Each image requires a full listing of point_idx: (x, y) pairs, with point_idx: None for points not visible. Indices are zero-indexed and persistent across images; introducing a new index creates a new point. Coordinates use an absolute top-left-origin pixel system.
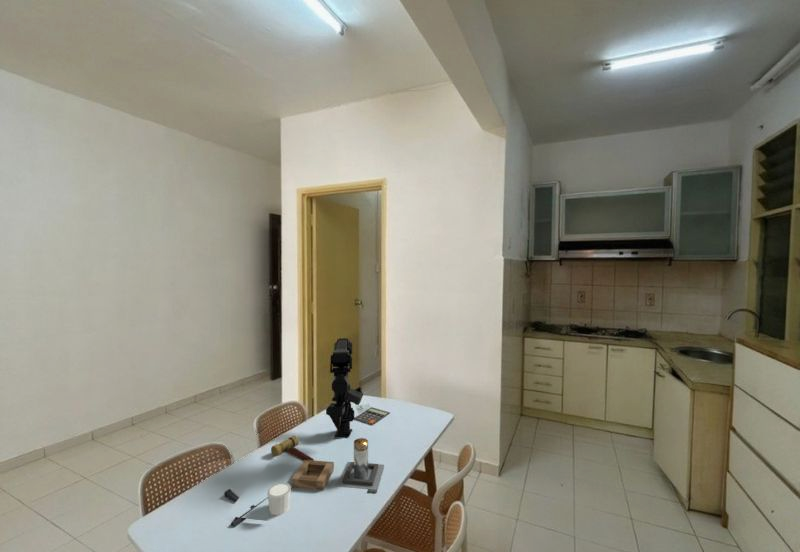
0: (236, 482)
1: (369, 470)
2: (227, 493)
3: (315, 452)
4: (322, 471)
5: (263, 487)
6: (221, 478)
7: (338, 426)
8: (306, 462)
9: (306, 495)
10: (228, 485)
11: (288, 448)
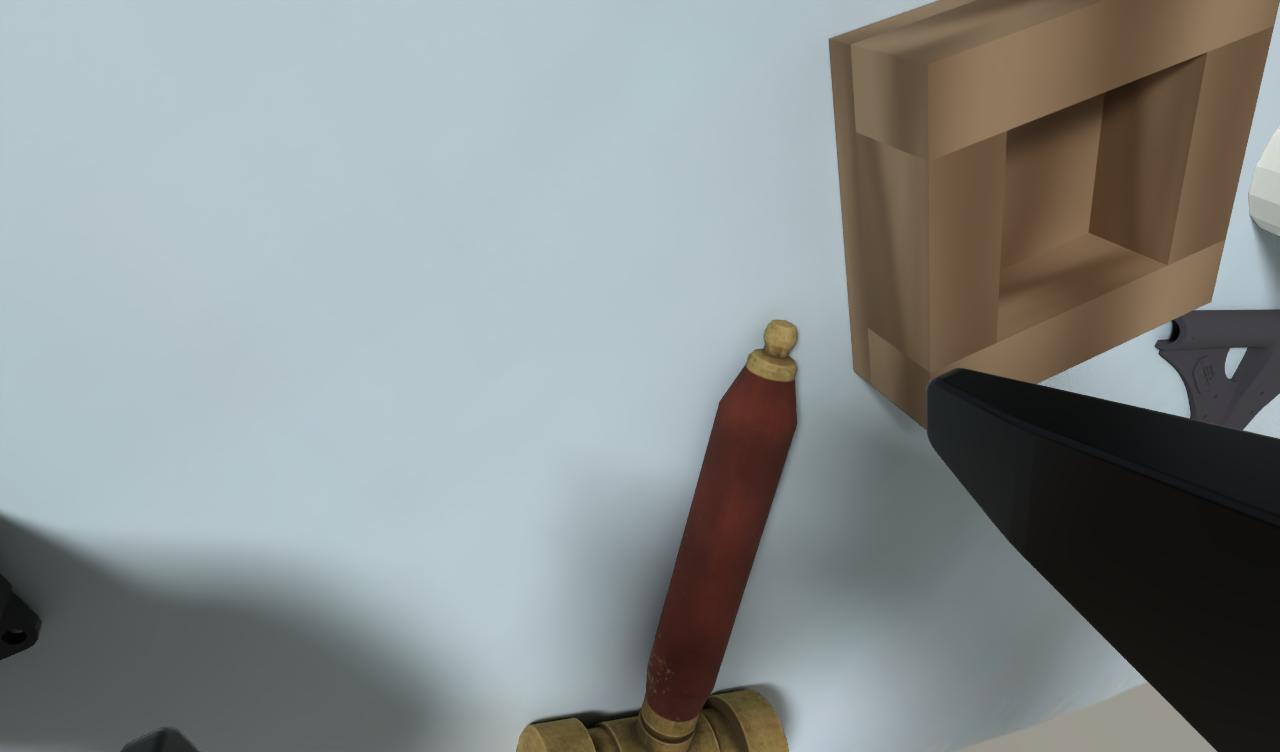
0: (1034, 625)
1: None
2: None
3: (536, 520)
4: (1119, 79)
5: None
6: (1006, 709)
7: (1029, 403)
8: None
9: None
10: (1060, 631)
11: (697, 719)
